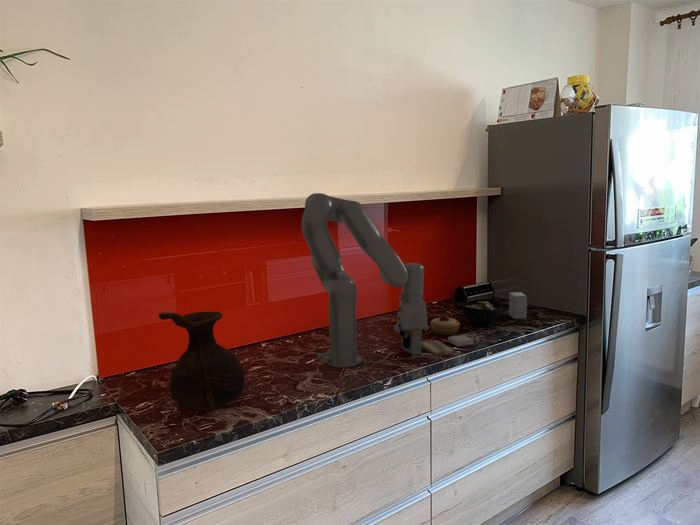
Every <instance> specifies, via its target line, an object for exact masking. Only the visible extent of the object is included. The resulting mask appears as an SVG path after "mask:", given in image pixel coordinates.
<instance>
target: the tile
mask: <svg viewBox="0 0 700 525" xmlns="http://www.w3.org/2000/svg"><path fill="white" fill-rule="evenodd" d="M447 338H448V340H447V341H448V342H449V343H451V344H453V345H454V346H456V347H462V346H468V345H474V342H475V341H474V340H475V339H473V338H471V337H469V336H468V335H466V334H462V335H461V334H460V335H451V336H448V337H447Z"/></svg>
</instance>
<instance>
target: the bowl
mask: <svg viewBox="0 0 700 525" xmlns="http://www.w3.org/2000/svg"><path fill="white" fill-rule="evenodd" d="M460 308H461V311H462V314H463V316H464V317H465V318H466V319H467V320H468V321H469V322H470V324H471V325H473V326H475V327H489V326H491V325H492V324H493V322H494V321H496V320H497V319H498V317H499V316H500V315H501V312H502V311H503V310H502V309H503V304H502V303H501V302H499V301H496V300H492V299H476V300H470V301H466V302H464V303H461V305H460Z"/></svg>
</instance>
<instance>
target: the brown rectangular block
mask: <svg viewBox="0 0 700 525" xmlns="http://www.w3.org/2000/svg"><path fill="white" fill-rule="evenodd" d="M400 330H401V331H402V329H401V328H400ZM422 336H423V334H422V330H421V329H411V330H409V331H408V338H409V348H408V349H406V348H404V347H403V336H401V344H400V345H401V348H402V349H403V350H405V351H406V352H407V353H409V354H411V355H420V354H422V346H421V343H422Z"/></svg>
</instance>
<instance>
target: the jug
mask: <svg viewBox="0 0 700 525" xmlns="http://www.w3.org/2000/svg"><path fill="white" fill-rule="evenodd" d="M158 318H159V319H160V320H163V321H164V320H165V321H166V320H172V321H173V322H174V325H175V326H177V327H180V328H183V329H185V330H186V332H187V334H188V345H187V348H186V350H185V351H184V352H183V353H182V354H181V355H180V357H179V358H178V359H177V362H176V364H175V365H174V368H173V369H172V370H171V371H170V372H171V376H170V381H169V393H170V396H171V398H172V400H173V401H174V403H176V404H178V405H179V406H182V407H184V408H187V409H190V410H195V411H198V412H210V411H217V410H219V409H223V408H224V407H225V406H227V405H229V404H231V403H232V402H233V401H235V400H236V399H237V398H239V397H240V396H241V395H242V393H243V391H244V388H245V383H246V382H245V373H244V369H243V366H242V364H241V361H240V360H239V358H237V356H236V355H234V354H233V353H232V352H231V351H229V350H228V349H227V348H226V347H224V346H222V345H220V344H218V343H217V341H216V338H215V335H214V326H215V324H216V323H217V322H218V321H220V320H221V319H222V318H223V313H222V312H219V311H197V312H191V313H186V314H182V315H181V314H180V313H176V312H172V311H171V312H169V311H168V312H167V311H165V312H163V311H162V312H160V313H158Z"/></svg>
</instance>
